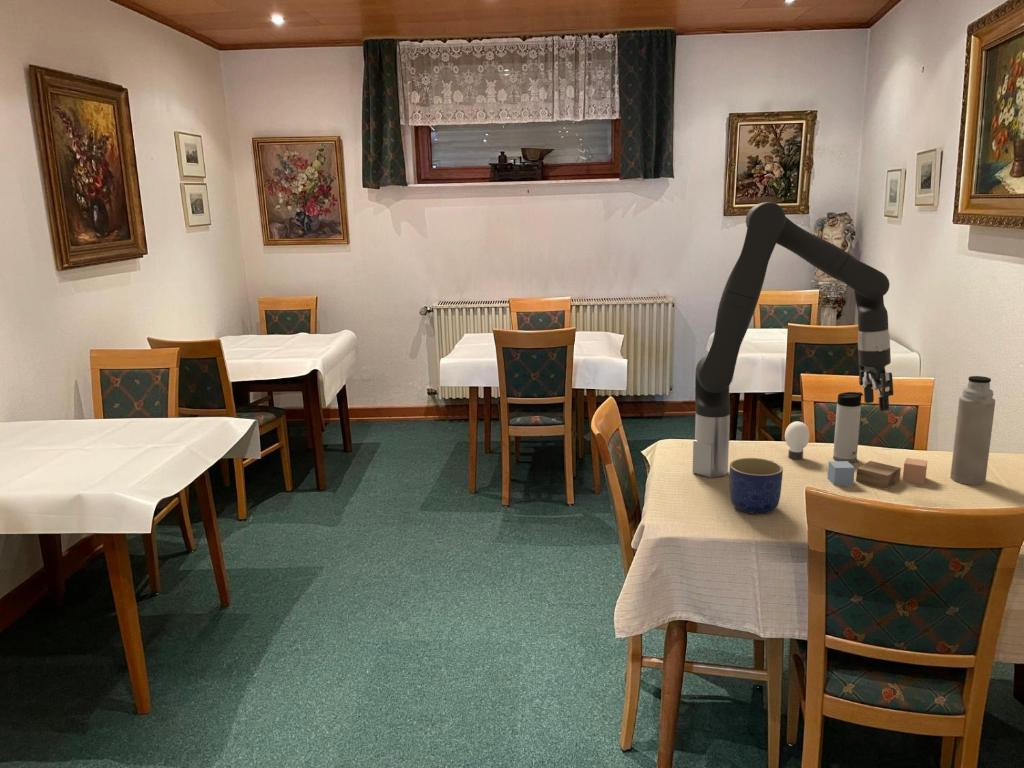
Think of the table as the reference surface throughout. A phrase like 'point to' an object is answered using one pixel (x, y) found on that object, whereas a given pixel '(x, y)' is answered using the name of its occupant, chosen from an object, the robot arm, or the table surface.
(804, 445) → the light bulb
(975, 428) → the thermos bottle
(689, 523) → the table surface
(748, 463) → the planter
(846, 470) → the blue cube
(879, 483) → the walnut block
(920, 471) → the terracotta cube
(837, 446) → the travel mug
